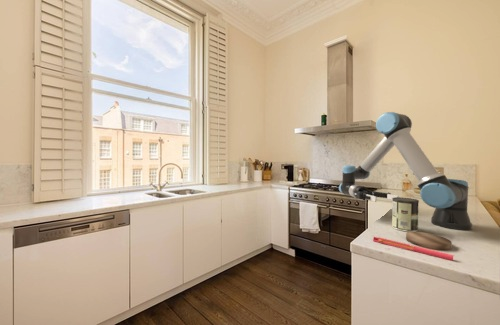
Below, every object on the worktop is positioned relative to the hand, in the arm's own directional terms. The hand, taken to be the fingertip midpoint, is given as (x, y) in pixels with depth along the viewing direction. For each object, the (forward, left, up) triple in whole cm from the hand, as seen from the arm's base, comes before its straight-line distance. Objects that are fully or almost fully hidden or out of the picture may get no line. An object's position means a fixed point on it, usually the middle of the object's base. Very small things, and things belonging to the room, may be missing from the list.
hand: (387, 199), depth 114 cm
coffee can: (-1, +10, -12) cm, 16 cm away
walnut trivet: (+4, +27, -12) cm, 30 cm away
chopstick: (+16, +32, -13) cm, 38 cm away
